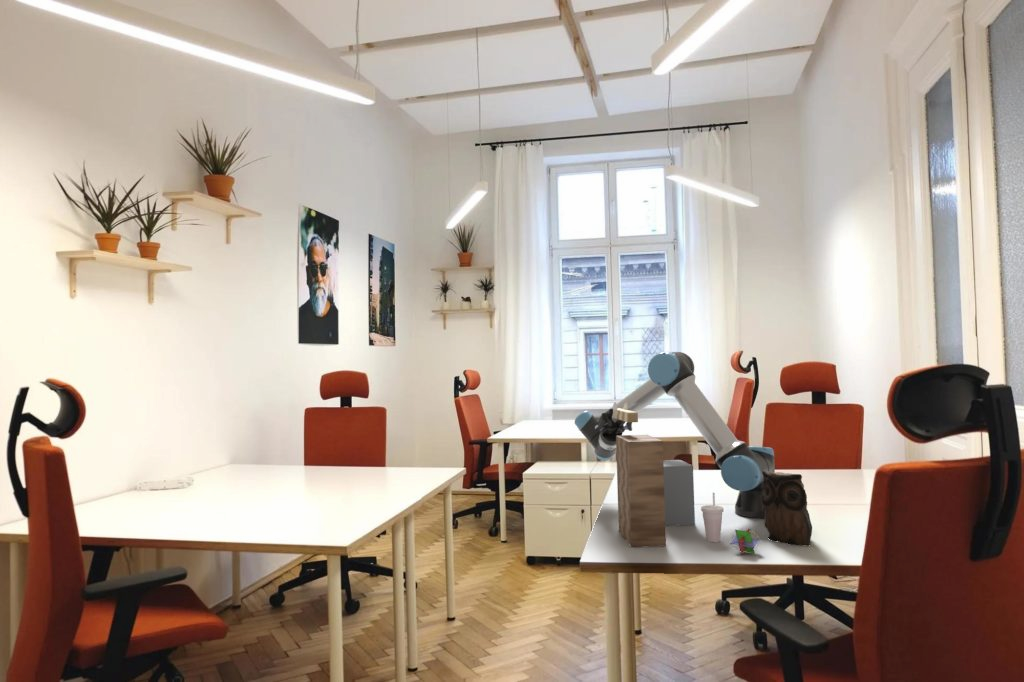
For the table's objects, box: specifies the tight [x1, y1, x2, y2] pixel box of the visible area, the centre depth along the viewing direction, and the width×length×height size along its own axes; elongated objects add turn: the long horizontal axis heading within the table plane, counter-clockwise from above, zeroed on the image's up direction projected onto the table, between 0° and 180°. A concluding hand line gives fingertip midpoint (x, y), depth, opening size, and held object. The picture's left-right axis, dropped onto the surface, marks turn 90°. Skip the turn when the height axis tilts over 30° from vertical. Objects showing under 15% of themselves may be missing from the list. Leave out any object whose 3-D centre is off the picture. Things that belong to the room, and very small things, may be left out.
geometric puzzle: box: [729, 527, 761, 556], centre depth 180 cm, size 7×7×8 cm
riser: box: [663, 459, 696, 526], centre depth 220 cm, size 14×10×19 cm
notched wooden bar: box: [609, 407, 639, 423], centre depth 216 cm, size 28×3×3 cm, turn 3°
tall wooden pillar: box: [615, 434, 667, 548], centre depth 199 cm, size 18×10×30 cm, turn 2°
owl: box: [762, 470, 813, 547], centre depth 193 cm, size 13×13×20 cm
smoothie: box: [700, 492, 724, 543], centre depth 194 cm, size 6×6×14 cm
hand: (621, 406), depth 219 cm, fingers closed on notched wooden bar, 3 cm apart
